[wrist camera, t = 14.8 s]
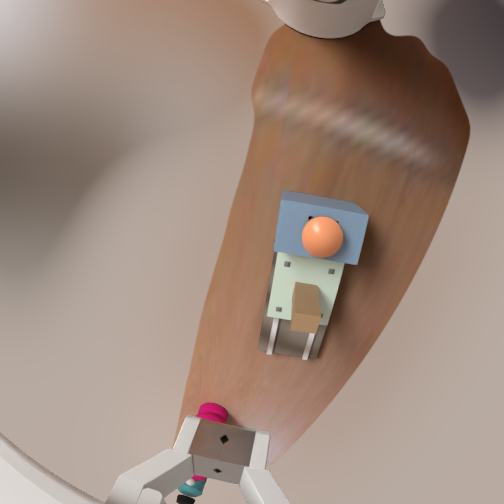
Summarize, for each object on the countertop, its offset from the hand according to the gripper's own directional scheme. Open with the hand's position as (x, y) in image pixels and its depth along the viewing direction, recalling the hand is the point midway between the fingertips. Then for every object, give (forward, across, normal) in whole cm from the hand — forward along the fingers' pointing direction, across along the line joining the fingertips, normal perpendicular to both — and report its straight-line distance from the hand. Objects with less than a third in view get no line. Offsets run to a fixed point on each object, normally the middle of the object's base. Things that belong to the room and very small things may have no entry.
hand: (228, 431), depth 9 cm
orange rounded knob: (+28, -5, -1) cm, 29 cm away
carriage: (+31, -5, +8) cm, 32 cm away
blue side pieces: (+33, -5, -1) cm, 33 cm away
